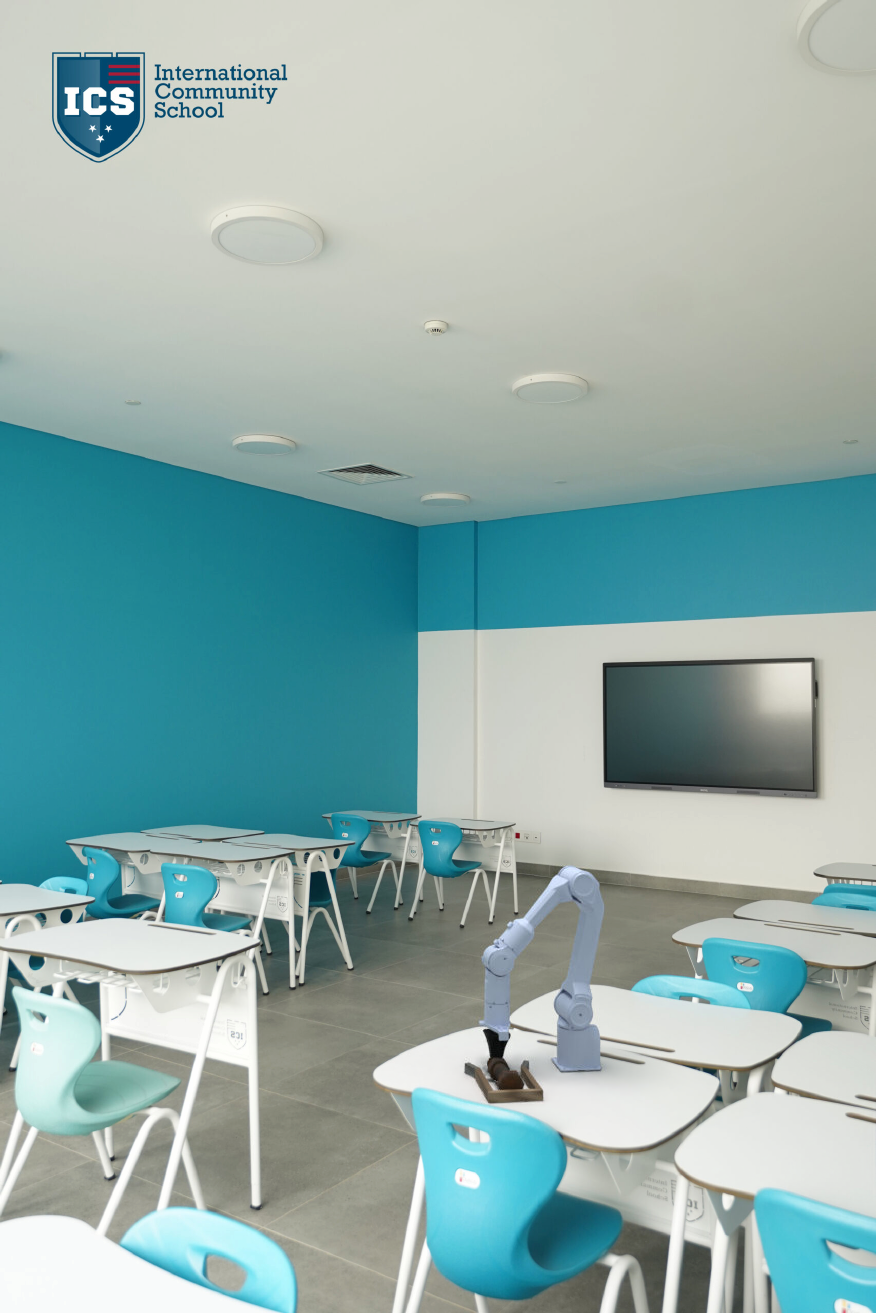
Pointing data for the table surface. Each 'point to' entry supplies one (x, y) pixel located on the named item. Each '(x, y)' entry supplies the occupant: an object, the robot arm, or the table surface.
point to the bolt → (504, 1074)
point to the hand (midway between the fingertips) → (496, 1063)
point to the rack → (507, 1095)
